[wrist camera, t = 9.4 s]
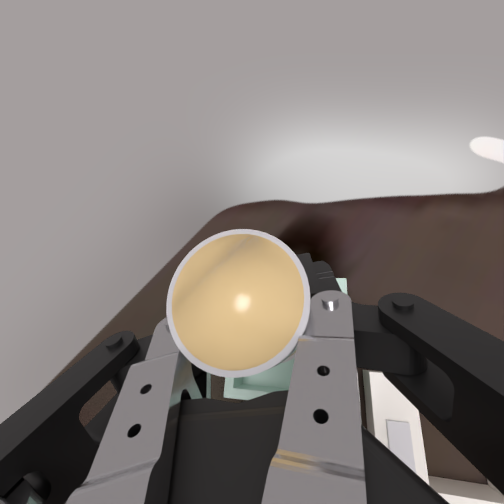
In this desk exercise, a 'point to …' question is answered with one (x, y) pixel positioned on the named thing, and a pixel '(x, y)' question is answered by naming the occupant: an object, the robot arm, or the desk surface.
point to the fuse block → (414, 440)
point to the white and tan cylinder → (238, 303)
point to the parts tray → (265, 376)
